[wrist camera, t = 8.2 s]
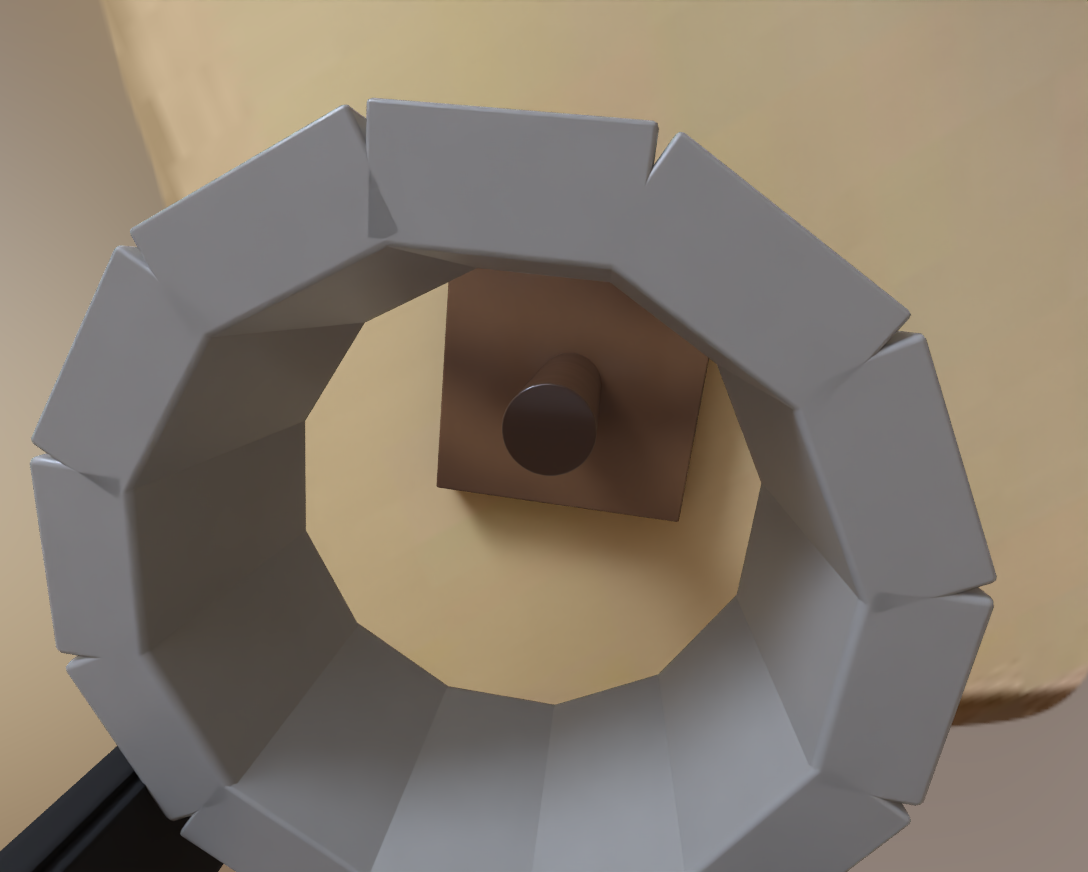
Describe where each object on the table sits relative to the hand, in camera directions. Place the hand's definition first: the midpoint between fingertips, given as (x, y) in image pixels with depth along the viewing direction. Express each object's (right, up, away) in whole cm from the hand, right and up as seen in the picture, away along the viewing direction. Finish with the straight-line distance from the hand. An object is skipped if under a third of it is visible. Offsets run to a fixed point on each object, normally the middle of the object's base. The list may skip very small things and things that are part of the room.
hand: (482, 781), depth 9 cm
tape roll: (+1, +5, 0) cm, 5 cm away
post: (+2, +8, +13) cm, 16 cm away
